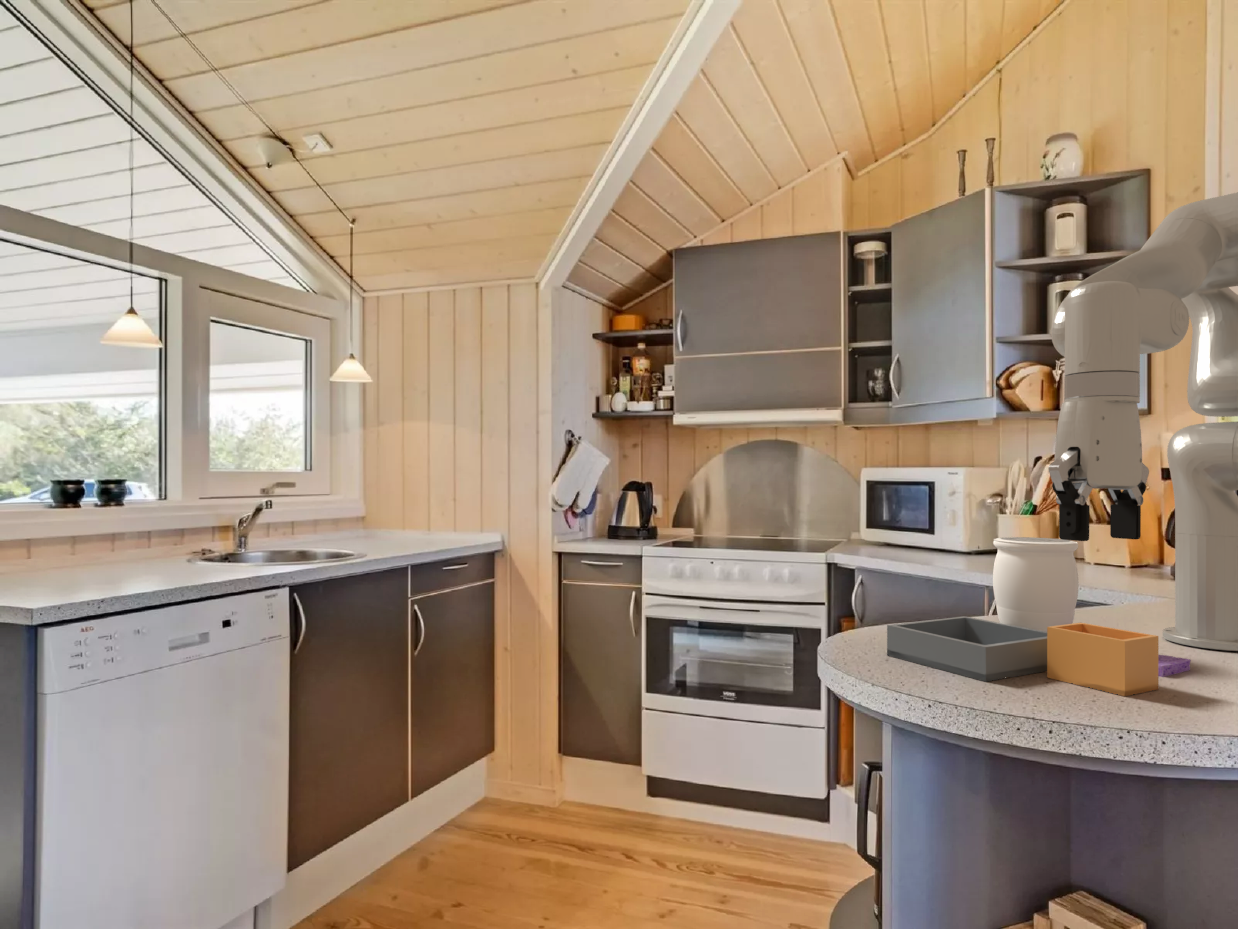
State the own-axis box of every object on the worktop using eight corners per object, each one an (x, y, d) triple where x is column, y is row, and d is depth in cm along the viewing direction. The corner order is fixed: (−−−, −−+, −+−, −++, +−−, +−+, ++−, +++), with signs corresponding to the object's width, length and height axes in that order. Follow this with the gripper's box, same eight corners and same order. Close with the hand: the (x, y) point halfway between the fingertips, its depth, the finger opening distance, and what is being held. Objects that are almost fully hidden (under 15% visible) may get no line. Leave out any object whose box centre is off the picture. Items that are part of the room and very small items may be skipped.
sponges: (1162, 681, 96) (1162, 665, 96) (1059, 660, 107) (1059, 645, 107) (1192, 673, 100) (1192, 658, 100) (1089, 653, 111) (1089, 640, 111)
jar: (983, 647, 112) (983, 539, 112) (1003, 636, 120) (1004, 535, 120) (1069, 659, 105) (1069, 544, 105) (1085, 646, 113) (1085, 539, 113)
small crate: (1080, 671, 99) (1080, 622, 99) (1158, 689, 91) (1158, 635, 91) (1047, 677, 96) (1047, 626, 96) (1124, 696, 88) (1124, 641, 88)
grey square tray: (964, 644, 114) (964, 616, 114) (1066, 667, 100) (1066, 635, 100) (887, 655, 107) (887, 625, 107) (985, 681, 93) (985, 647, 93)
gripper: (1113, 398, 101) (1112, 535, 100) (1023, 389, 93) (1021, 538, 92) (1178, 393, 94) (1177, 540, 94) (1087, 382, 86) (1086, 543, 86)
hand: (1100, 539), depth 93 cm, fingers open, 9 cm apart
